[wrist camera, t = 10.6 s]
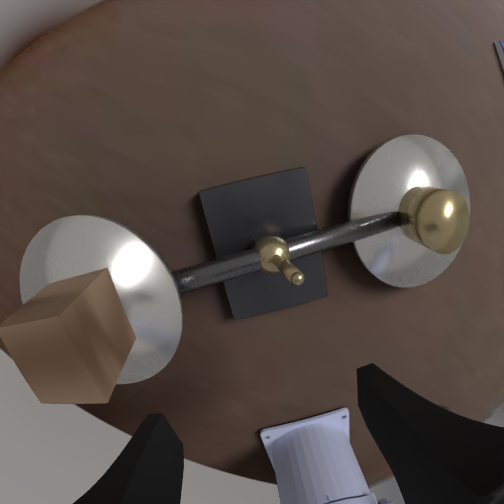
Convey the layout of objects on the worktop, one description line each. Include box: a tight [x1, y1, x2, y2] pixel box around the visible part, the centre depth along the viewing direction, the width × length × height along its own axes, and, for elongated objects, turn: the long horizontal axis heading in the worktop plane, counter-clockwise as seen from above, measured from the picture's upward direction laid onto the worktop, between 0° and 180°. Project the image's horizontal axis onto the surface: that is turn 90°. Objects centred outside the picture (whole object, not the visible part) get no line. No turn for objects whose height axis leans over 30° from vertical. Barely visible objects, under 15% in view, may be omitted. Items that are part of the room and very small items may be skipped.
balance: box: [20, 135, 470, 384], centre depth 15 cm, size 10×30×6 cm, turn 103°
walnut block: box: [0, 268, 136, 404], centre depth 11 cm, size 4×4×5 cm
